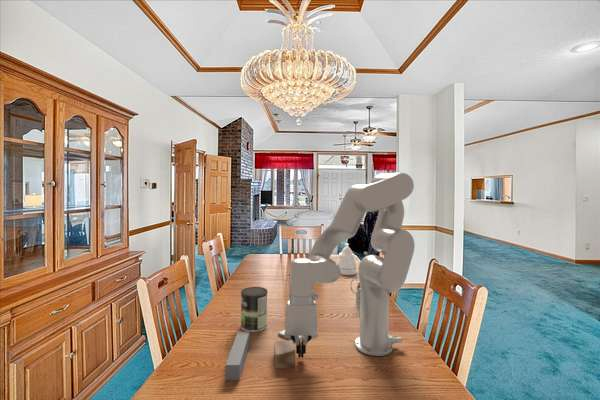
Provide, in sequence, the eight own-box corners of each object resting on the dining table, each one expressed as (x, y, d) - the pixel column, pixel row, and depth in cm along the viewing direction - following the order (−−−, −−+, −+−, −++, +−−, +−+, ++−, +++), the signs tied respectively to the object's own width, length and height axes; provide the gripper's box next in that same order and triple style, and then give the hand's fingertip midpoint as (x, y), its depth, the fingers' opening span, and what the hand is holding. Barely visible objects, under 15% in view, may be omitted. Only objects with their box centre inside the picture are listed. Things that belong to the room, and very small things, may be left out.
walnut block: (292, 353, 103) (292, 340, 102) (295, 367, 95) (295, 353, 94) (274, 354, 102) (274, 341, 102) (275, 369, 94) (275, 354, 94)
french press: (376, 309, 139) (377, 254, 138) (349, 307, 141) (350, 253, 140) (375, 301, 149) (376, 250, 147) (350, 299, 151) (351, 249, 150)
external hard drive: (278, 336, 115) (298, 324, 124) (295, 343, 110) (315, 331, 119) (278, 332, 115) (298, 320, 124) (295, 339, 110) (315, 326, 119)
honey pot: (336, 268, 207) (337, 242, 206) (356, 269, 205) (356, 242, 205) (336, 274, 195) (336, 245, 194) (357, 275, 193) (357, 246, 192)
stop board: (249, 344, 108) (249, 331, 108) (239, 380, 88) (239, 364, 88) (237, 344, 108) (237, 331, 108) (225, 380, 88) (225, 364, 88)
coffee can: (244, 334, 115) (244, 297, 114) (238, 322, 125) (238, 288, 124) (270, 329, 119) (271, 293, 118) (263, 318, 129) (263, 285, 128)
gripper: (324, 294, 101) (323, 349, 102) (278, 294, 101) (277, 349, 102) (326, 303, 94) (325, 362, 95) (277, 302, 93) (276, 362, 94)
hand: (300, 355), depth 98 cm, fingers closed
